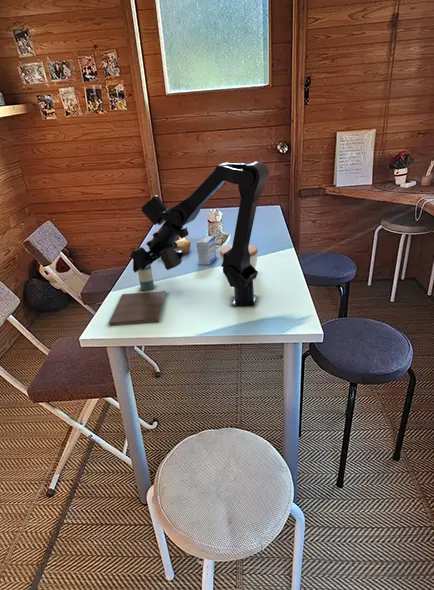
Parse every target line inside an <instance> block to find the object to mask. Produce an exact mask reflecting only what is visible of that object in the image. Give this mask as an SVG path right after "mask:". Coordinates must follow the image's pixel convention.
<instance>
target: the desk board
mask: <svg viewBox="0 0 434 590" xmlns="http://www.w3.org/2000/svg"><path fill="white" fill-rule="evenodd" d="M166 294H167V292H166V290H158V291H145V292H133V293H122V294H121V296H120V298H119V300H118V302H117V305H116V307H115V309H114V311H113V313H112V315H111V317H110V318H109V321H108V324H109V326H119V325H134V324H135V325H136V324H148V323H159V321H160V317H161V313H162V309H163V306H164V302H165V298H166Z"/></svg>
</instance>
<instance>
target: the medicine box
mask: <svg viewBox="0 0 434 590" xmlns="http://www.w3.org/2000/svg"><path fill="white" fill-rule="evenodd" d="M196 250H197V258H198V265H200V266H201V265H202V266H210V265H211V264H212V263H213V262H214V261H215V260H216V259H217V249H216V238H215V235H205V236H203V237H202V238H201V239H200V240H198V241H197V242H196Z"/></svg>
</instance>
